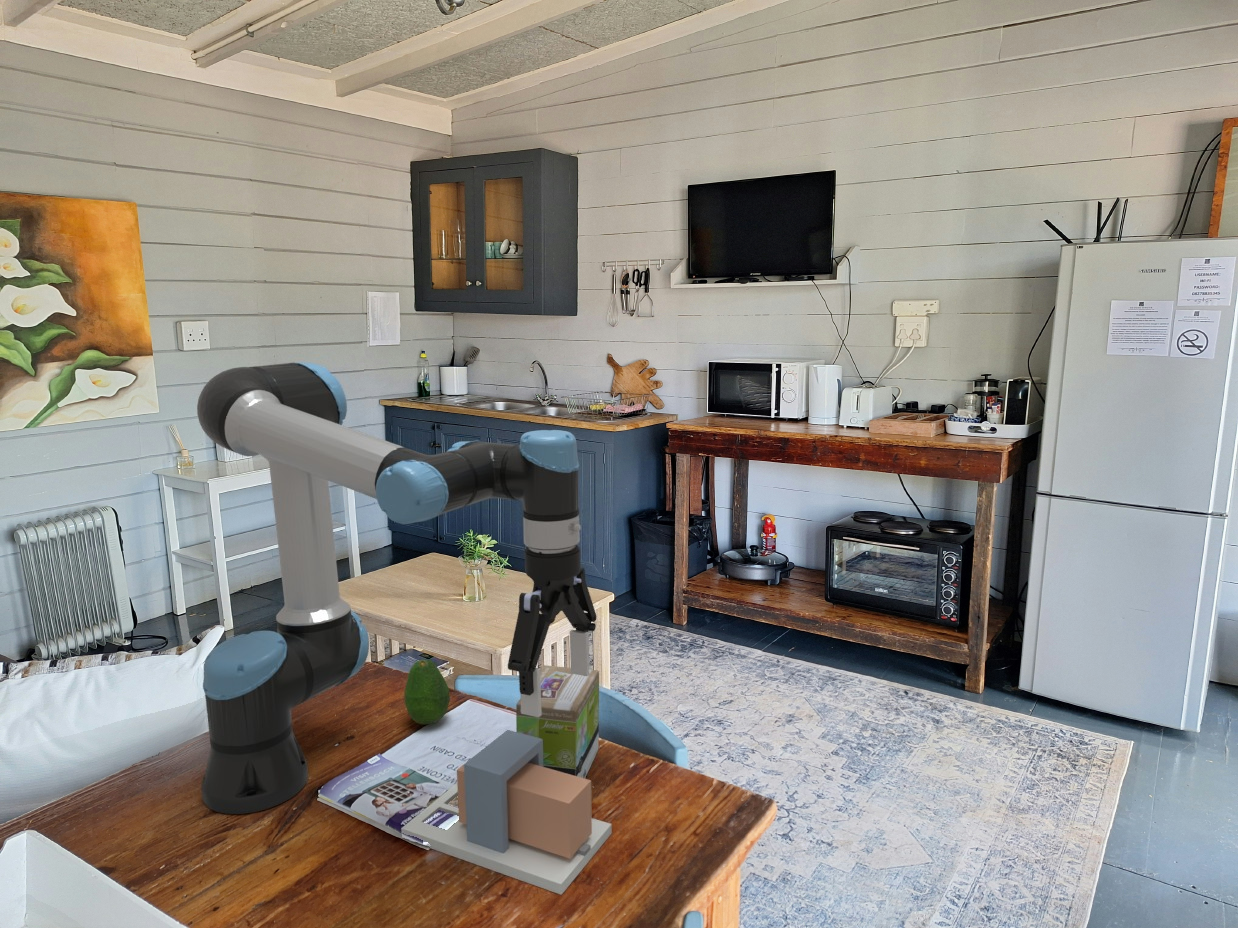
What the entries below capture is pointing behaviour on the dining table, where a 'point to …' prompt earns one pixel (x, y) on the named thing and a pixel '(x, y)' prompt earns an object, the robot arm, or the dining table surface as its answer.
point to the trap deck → (501, 820)
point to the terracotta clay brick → (544, 808)
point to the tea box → (565, 720)
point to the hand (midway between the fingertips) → (557, 693)
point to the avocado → (426, 693)
